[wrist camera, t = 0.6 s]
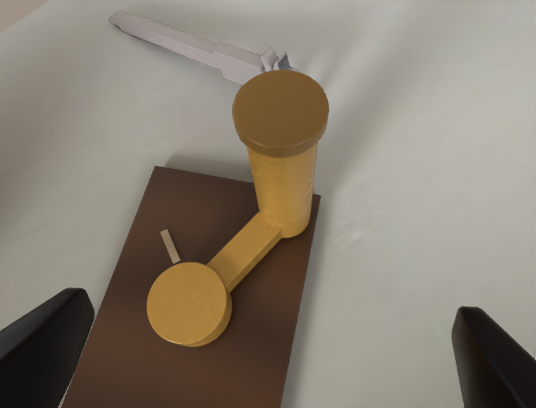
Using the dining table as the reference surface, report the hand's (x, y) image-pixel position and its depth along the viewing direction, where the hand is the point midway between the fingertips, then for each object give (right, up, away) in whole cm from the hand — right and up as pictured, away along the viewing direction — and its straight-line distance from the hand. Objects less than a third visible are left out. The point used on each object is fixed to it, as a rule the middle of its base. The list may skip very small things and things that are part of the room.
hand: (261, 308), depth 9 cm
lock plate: (-4, -4, +15) cm, 16 cm away
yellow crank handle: (-2, -1, +15) cm, 15 cm away
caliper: (-6, +14, +24) cm, 28 cm away
